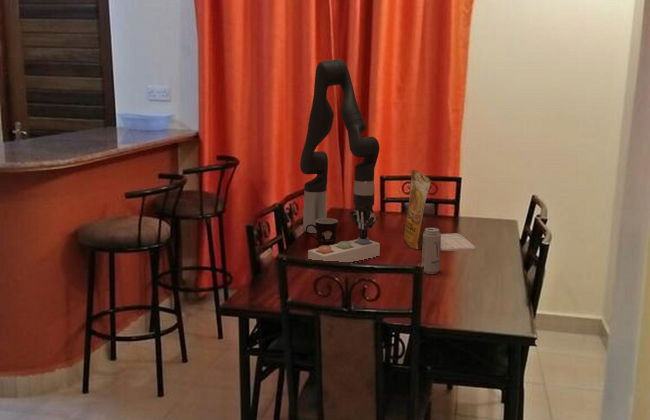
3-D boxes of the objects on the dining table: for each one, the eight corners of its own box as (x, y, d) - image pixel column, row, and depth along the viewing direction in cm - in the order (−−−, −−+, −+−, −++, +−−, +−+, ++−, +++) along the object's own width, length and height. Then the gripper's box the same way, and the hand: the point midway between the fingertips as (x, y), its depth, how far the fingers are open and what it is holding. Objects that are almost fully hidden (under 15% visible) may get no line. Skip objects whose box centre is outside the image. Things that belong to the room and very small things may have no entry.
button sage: (335, 250, 244) (336, 242, 244) (345, 248, 247) (345, 240, 246) (343, 253, 241) (343, 245, 240) (353, 251, 244) (353, 243, 243)
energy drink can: (435, 275, 229) (436, 232, 225) (418, 272, 232) (420, 230, 228) (442, 270, 234) (444, 228, 230) (425, 267, 237) (427, 226, 233)
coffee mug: (340, 244, 264) (340, 219, 262) (333, 250, 257) (333, 224, 254) (312, 241, 268) (312, 216, 266) (304, 247, 260) (304, 222, 258)
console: (308, 263, 240) (308, 250, 239) (363, 250, 256) (363, 237, 255) (323, 270, 234) (323, 256, 232) (379, 256, 249) (379, 243, 248)
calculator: (442, 252, 256) (442, 247, 256) (427, 238, 275) (427, 233, 275) (476, 251, 258) (476, 246, 257) (459, 236, 277) (459, 232, 276)
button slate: (354, 245, 250) (354, 238, 249) (363, 243, 252) (363, 236, 252) (362, 248, 246) (362, 240, 246) (371, 246, 249) (371, 238, 248)
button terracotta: (316, 255, 239) (316, 246, 238) (325, 252, 242) (325, 244, 241) (323, 258, 236) (323, 249, 235) (333, 255, 238) (333, 247, 238)
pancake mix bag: (416, 236, 275) (419, 168, 268) (429, 250, 256) (432, 177, 250) (400, 237, 274) (402, 169, 267) (412, 251, 256) (415, 178, 249)
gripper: (344, 190, 247) (343, 236, 251) (368, 196, 237) (367, 244, 241) (359, 188, 252) (359, 233, 256) (384, 194, 242) (383, 240, 246)
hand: (363, 238), depth 249 cm, fingers closed
